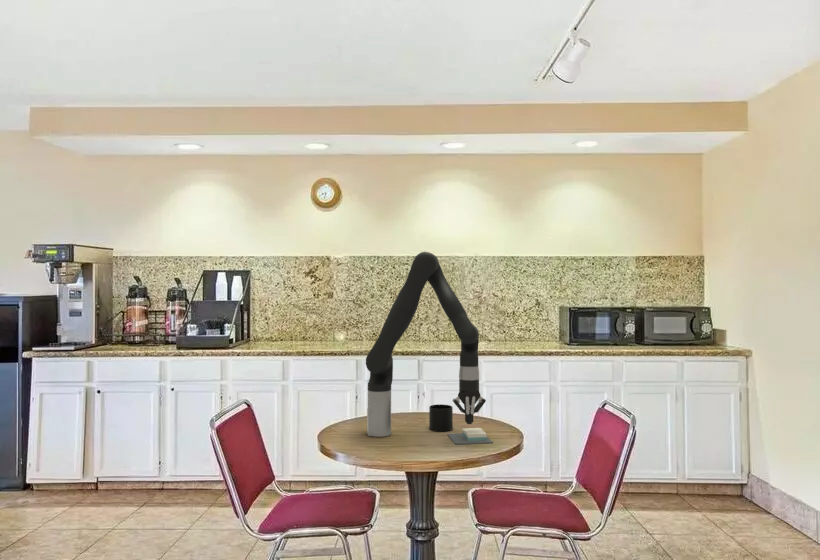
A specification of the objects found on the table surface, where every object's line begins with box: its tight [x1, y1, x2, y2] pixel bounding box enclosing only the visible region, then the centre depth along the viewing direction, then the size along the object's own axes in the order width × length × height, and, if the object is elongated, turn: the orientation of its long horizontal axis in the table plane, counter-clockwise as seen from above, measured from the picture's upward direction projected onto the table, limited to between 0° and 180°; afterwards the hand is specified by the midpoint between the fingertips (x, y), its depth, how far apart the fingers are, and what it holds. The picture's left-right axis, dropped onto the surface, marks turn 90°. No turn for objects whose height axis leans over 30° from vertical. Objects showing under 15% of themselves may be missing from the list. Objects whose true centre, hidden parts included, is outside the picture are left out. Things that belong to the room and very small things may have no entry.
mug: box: [428, 403, 454, 433], centre depth 225 cm, size 9×12×9 cm
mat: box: [446, 432, 494, 446], centre depth 208 cm, size 14×14×1 cm
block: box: [462, 427, 488, 441], centre depth 209 cm, size 2×9×7 cm
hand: (469, 423), depth 209 cm, fingers closed
